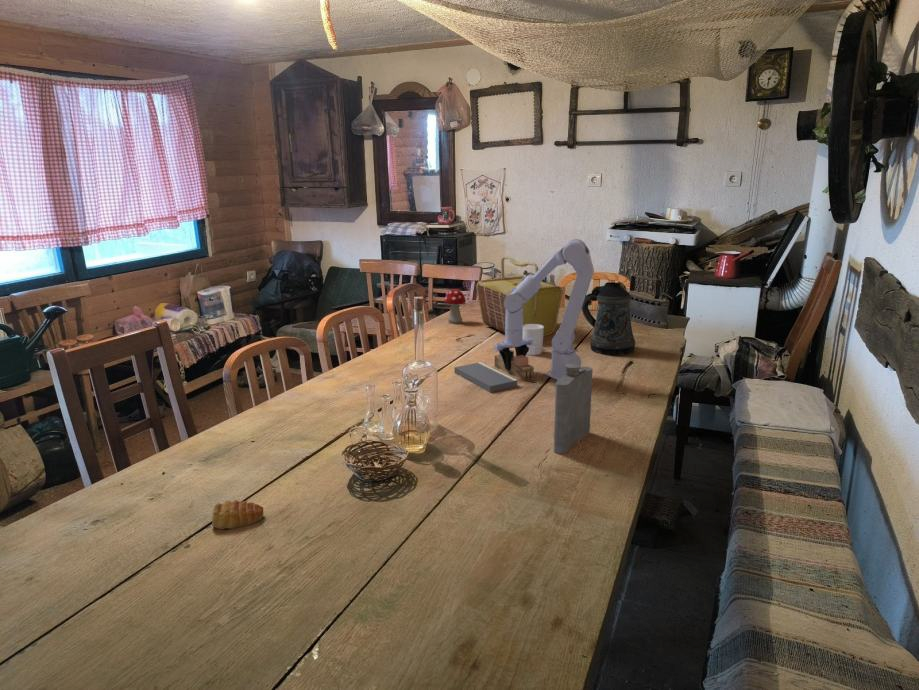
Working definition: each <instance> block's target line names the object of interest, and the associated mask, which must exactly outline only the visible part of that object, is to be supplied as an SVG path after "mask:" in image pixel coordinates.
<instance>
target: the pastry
mask: <svg viewBox="0 0 919 690" xmlns="http://www.w3.org/2000/svg"><path fill="white" fill-rule="evenodd" d="M263 518H264V506H262V505H260V504H258V503H254V502H247V501H246V500H244V501H239V500H236V499H235V500H233V501H229V500H226V501H224V502H223V503H220V502H218V503H215V505H214V506H213V512H212V519H211V520H212V523H211V526H213V528H216V529H218V530H225V529H229V530H230V529H237V528H241V527H244V526H249V525H253V524H255V523H256V522H259V521H261V520H262V519H263Z"/></svg>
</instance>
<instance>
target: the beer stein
mask: <svg viewBox="0 0 919 690" xmlns="http://www.w3.org/2000/svg"><path fill="white" fill-rule="evenodd" d="M620 284H621V283H620V282H615V281H614V282H611V281H609V282H605V284H604V285H601V286H600V285H599V286H594V288H593V289H592V290H591V293H588V294H586V297H585V300H584V303H583V305H582V308H581V311H582V315H583V316H584V318H585V320H587V322H588V323H589V325H590V326H592V327H593V332H592V335H591V337H590V339H589V344H590V349H591V351H592V352H594V353H596V354H599V355H604V356H612V357H613V356H618V357H619V356H622V357H623V356H628V355H630V353H631V354H633V353H634V350H635V347H636V340H635V339H636V338H635V336H634V333H633V328H632V322H631V320H632V319H631V311H630V310H631V309H630V302H631V300H632V295H631V293H630V292H628V290H626V289H625V288H623V287H622V285H620ZM596 301H597V302H598V305H597V311H596V312H597V313H596V316H595V317H594V316H593V315H592V314H591V311H590V310H589V304H590V303H591V302H596Z"/></svg>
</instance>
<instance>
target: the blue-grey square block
mask: <svg viewBox="0 0 919 690" xmlns="http://www.w3.org/2000/svg"><path fill="white" fill-rule="evenodd" d="M509 350H510V351H512V352H513V354H512V358H511V359H513V357H514V356H515V350H512V349H511V348H509ZM498 352H499V351H498ZM498 355H499V357H500V358H502V356H501V354H500V352H499V353H498Z"/></svg>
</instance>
